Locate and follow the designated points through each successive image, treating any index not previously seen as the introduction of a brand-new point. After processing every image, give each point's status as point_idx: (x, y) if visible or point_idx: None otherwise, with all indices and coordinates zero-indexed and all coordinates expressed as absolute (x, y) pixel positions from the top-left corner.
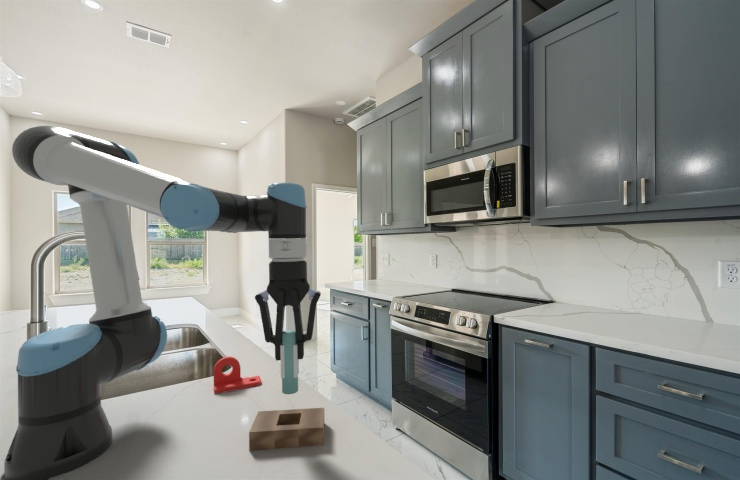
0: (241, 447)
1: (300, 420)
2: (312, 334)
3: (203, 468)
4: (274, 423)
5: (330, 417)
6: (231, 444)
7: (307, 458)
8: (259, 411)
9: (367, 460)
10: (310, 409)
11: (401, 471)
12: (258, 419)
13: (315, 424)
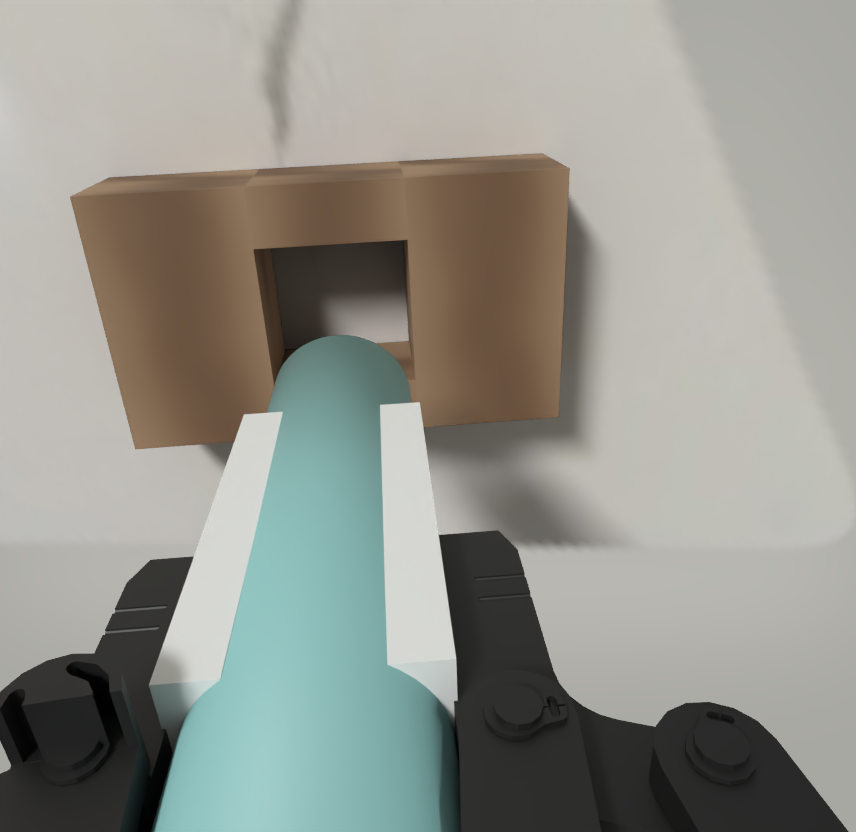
0: (105, 375)
1: (416, 339)
2: (779, 774)
3: (9, 515)
4: (255, 364)
5: (584, 64)
6: (32, 347)
7: (465, 463)
8: (80, 200)
9: (723, 480)
10: (468, 192)
11: (833, 539)
12: (127, 315)
13: (513, 384)
